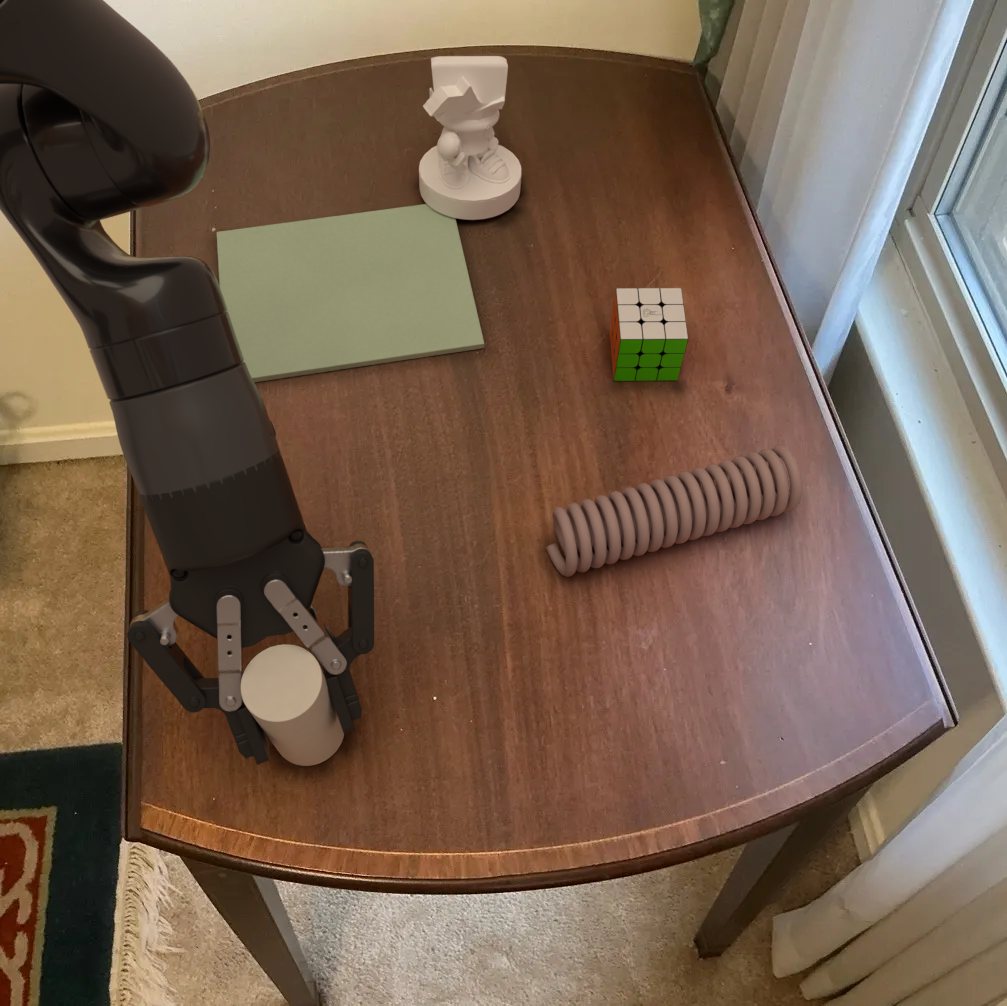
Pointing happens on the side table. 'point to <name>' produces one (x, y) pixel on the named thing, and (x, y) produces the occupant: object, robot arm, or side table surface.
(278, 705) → the cylinder
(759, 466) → the coil
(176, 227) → the side table surface
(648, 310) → the rubik's cube
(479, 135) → the character figurine
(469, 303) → the mat
